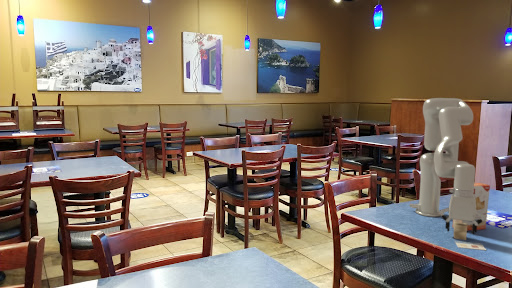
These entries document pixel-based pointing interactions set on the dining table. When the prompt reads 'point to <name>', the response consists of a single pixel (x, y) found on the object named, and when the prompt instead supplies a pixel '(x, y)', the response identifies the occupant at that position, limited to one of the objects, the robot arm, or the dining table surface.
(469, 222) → the cracker box
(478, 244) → the menu card
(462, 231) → the maple block
